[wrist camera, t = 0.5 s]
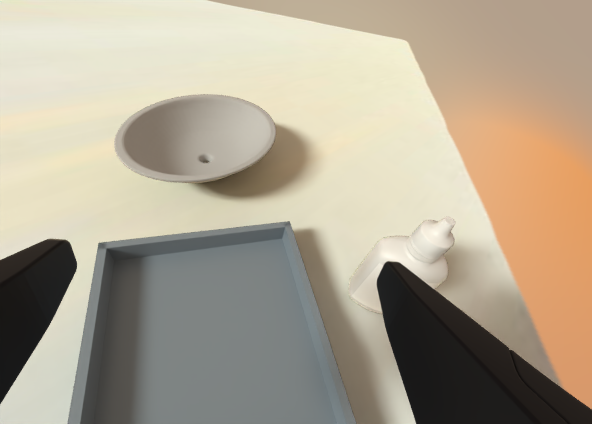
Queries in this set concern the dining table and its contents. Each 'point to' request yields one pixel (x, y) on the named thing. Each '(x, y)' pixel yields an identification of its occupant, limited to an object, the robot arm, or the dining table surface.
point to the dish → (195, 138)
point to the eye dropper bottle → (404, 260)
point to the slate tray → (206, 334)
